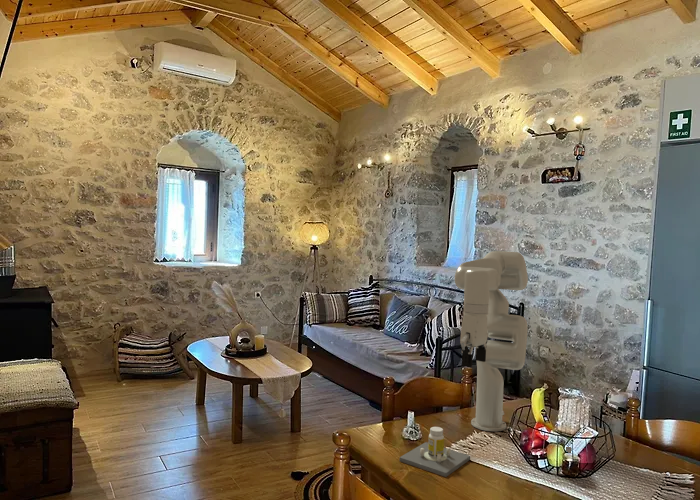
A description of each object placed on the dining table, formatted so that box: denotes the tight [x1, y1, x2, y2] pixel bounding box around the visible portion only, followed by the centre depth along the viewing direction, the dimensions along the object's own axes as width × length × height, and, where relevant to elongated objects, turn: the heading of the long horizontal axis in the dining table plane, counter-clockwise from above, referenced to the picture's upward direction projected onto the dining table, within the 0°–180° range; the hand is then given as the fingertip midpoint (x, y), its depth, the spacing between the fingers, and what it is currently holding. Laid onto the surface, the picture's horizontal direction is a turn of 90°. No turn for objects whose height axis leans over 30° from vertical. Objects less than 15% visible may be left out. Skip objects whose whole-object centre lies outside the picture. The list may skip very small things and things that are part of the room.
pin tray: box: [399, 441, 471, 478], centre depth 166 cm, size 16×16×4 cm
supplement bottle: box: [427, 426, 445, 458], centre depth 166 cm, size 5×5×8 cm
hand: (473, 363), depth 166 cm, fingers open, 9 cm apart
